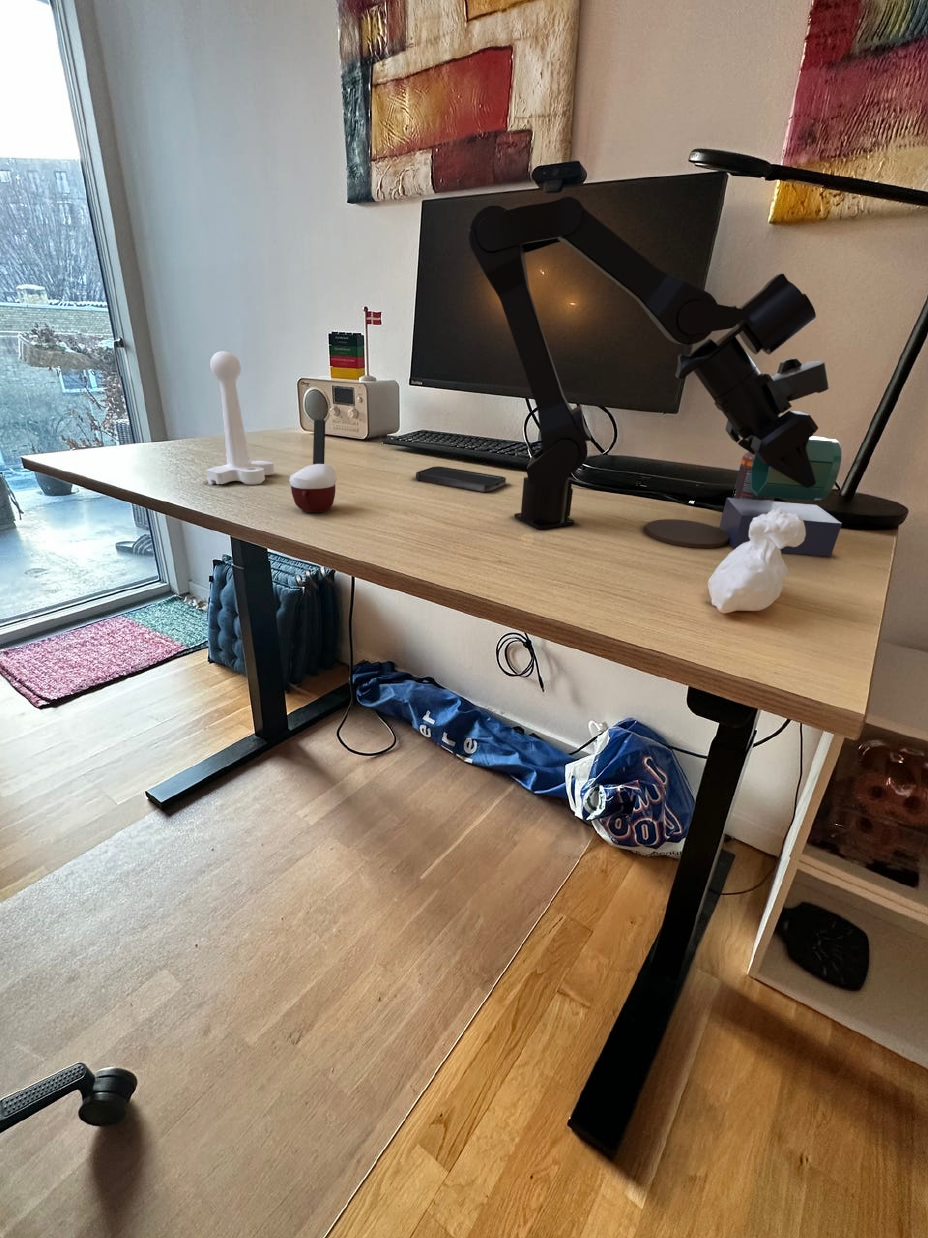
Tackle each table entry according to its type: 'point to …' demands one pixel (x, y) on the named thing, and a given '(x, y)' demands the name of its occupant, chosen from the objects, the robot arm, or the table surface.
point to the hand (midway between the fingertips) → (801, 478)
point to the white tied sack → (756, 564)
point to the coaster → (687, 533)
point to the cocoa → (315, 478)
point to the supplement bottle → (746, 480)
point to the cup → (778, 485)
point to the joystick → (234, 429)
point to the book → (815, 519)
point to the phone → (461, 478)
